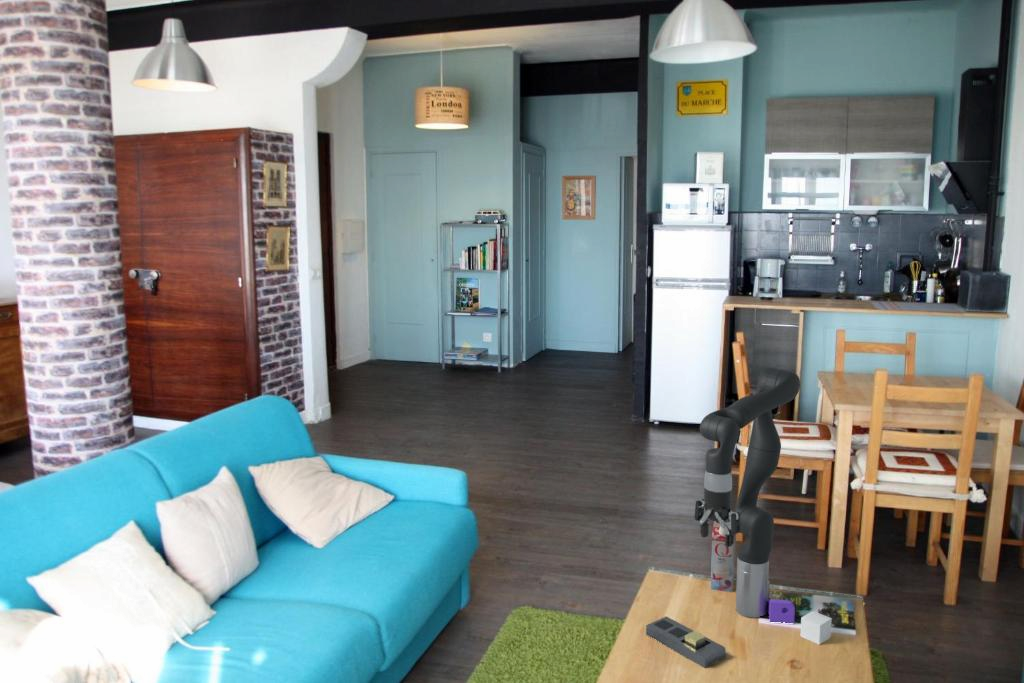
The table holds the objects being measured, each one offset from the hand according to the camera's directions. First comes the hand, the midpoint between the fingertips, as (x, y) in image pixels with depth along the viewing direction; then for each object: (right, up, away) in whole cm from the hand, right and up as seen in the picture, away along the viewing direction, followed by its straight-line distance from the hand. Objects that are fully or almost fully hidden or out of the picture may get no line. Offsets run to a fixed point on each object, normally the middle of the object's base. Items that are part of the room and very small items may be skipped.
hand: (716, 541), depth 238 cm
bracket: (+24, -27, +20) cm, 41 cm away
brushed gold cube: (-6, -31, -1) cm, 32 cm away
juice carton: (+11, -24, +38) cm, 46 cm away
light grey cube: (+30, -29, +6) cm, 42 cm away
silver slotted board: (-8, -30, +3) cm, 32 cm away
